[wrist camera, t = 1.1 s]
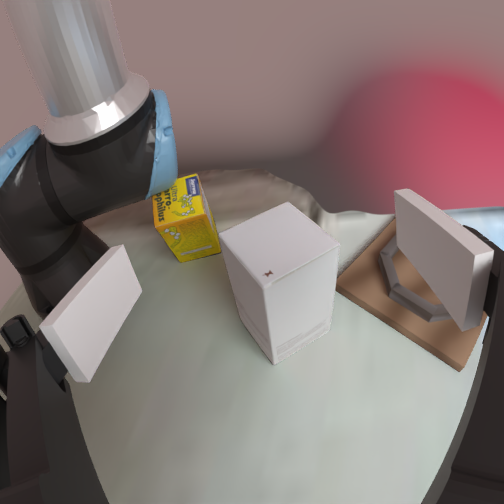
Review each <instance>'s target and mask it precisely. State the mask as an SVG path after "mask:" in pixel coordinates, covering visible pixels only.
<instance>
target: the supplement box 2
mask: <svg viewBox="0 0 504 504" xmlns="http://www.w3.org/2000/svg"><path fill="white" fill-rule="evenodd" d="M218 237H219V241H220V245H221V249H222V253H223V257H224V261H225V265H226V268H227V272H228V276H229V279H230V283H231V287H232V290H233V294H234V297H235V301H236V305H237V309H238V313H239V316H240V319H241V321H242V322H243V324H244V325H245V327H246V328H247V330H248V331H249V332H250V334H251V335H252V337H253V338H254V339H255V341H256V342H257V343H258V345H259V346H260V348H261V349H262V350H263V352H264V353H265V354H266V356H267V357H268V358H269V360H270V361H271V362H272V364H273V365H276V364H277V363H279V362H281V361H282V360H284V359H286V358H287V357H289V356H291V355H292V354H294V353H296V352H297V351H299V350H300V349H302V348H304V347H305V346H307V345H308V344H310V343H311V342H313V341H315V340H316V339H318V338H319V337H321V336H322V335H324V334H325V333H327V332H328V331H329V330H330V326H331V319H332V312H333V304H334V296H335V288H336V279H337V270H338V260H339V250H340V243H339V242H338V241H337V240H335V239H334V238H333V237H332V236H330V235H329V234H328V233H327V232H325V231H324V230H323V229H322V228H320V227H319V226H318V225H317V224H316V223H314V222H313V221H312V220H311V219H309V218H308V217H307V216H306V215H304V214H303V213H302V212H301V211H299V210H298V209H297V208H296V207H294V206H293V205H292V204H291V203H289V202H286V203H283V204H281V205H279V206H277V207H274V208H272V209H270V210H268V211H266V212H263V213H261V214H259V215H257V216H255V217H253V218H251V219H248V220H246V221H244V222H242V223H240V224H238V225H236V226H234V227H231V228H229V229H227V230H225V231H222V232H220V233H218Z"/></svg>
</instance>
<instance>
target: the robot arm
mask: <svg viewBox="0 0 504 504" xmlns="http://www.w3.org/2000/svg"><path fill="white" fill-rule="evenodd" d="M2 2H3V5H4V8H5V11H6V14H7V17H8V19H9V22H10V25H11V27H12V30H13V33H14V35H15V38H16V40H17V42H18V45H19V47H20V50H21V52H22V55H23V57H24V59H25V61H26V64H27V66H28V68H29V71H30V72H31V75H32V77H33V79H34V81H35V83H36V86H37V88H38V90H39V92H40V94H41V96H42V98H43V100H44V102H45V104H46V106H47V108H48V110H49V114H48V116H47V119H46V121H45V125H44V134H43V135H41V130H40V129H39V128H38V127H37V126H35V125H33V126H31V127H29V128H27V129H25V130H24V131H22V132H21V133H19V134H18V135H16V136H15V137H14V138H12V139H11V140H10V141H9V142H7V143H6V144H5V145H4V146H3V147H1V148H0V248H1V249H2V251H3V252H4V253H5V255H6V256H7V258H8V259H9V260H10V262H11V263H12V264H13V265H14V267H15V268H16V269H17V271H18V272H19V274H20V275H21V278H22V281H23V284H24V286H25V289H26V292H27V294H28V297H29V299H30V302H31V304H32V306H33V308H34V310H35V311H36V312H37V313H38V315H39V316H40V317H41V318H42V319H43V320H44V321H43V322H42V323H41V324H40V326H39V327H40V330H39V331H38V332H37V334H35V333H34V331H33V329H32V328H31V326H30V324H29V323H28V321H27V319H26V318H25V316H24V315H22V314H21V315H17V316H15V317H13V318H11V319H10V320H8V321H7V322H6V323H5V324H4V325H3V326H2V327H1V329H0V333H1V335H2V336H3V338H4V340H5V341H6V343H7V344H8V346H9V347H10V351H9V352H5V351H4V349H3V348H2V346H1V345H0V389H1V390H2V391H3V393H4V394H5V395H6V396H7V399H6V401H5V400H4V399H3V398H2V397H1V396H0V504H109V502H108V500H107V498H106V496H105V493H104V491H103V489H102V486H101V484H100V481H99V479H98V476H97V474H96V471H95V469H94V466H93V463H92V460H91V458H90V455H89V452H88V449H87V446H86V443H85V440H84V437H83V434H82V431H81V427H80V424H79V420H78V417H77V413H76V410H75V406H74V402H73V398H72V394H71V390H70V386H69V383H68V381H67V380H66V379H65V377H64V376H65V375H66V373H67V371H68V372H69V373H70V375H71V376H72V377H73V379H74V380H75V381H76V382H88V383H90V381H91V379H92V377H93V375H94V374H95V372H96V370H97V368H98V366H99V364H100V363H101V361H102V359H103V357H104V355H105V354H106V352H107V350H108V348H109V347H110V345H111V343H112V341H113V340H114V338H115V336H116V334H117V333H118V331H119V329H120V327H121V326H122V324H123V322H124V321H125V319H126V317H127V316H128V314H129V312H130V311H131V309H132V307H133V306H134V304H135V302H136V301H137V299H138V297H139V296H140V294H141V293H142V289H141V286H140V284H139V282H138V279H137V277H136V275H135V272H134V270H133V267H132V265H131V263H130V260H129V258H128V255H127V253H126V250H125V247H124V245H123V244H122V245H118V246H114V247H111V248H109V247H108V246H107V244H105V243H104V242H103V241H102V240H101V239H100V238H98V237H97V236H96V235H95V234H94V233H93V232H91V231H90V230H89V229H88V228H87V227H86V226H85V225H84V224H83V223H82V221H84V220H86V219H89V218H92V217H95V216H97V215H100V214H103V213H106V212H109V211H112V210H115V209H118V208H120V207H123V206H126V205H129V204H132V203H135V202H138V201H142V200H146V199H149V198H150V197H151V196H153V195H155V194H158V193H160V192H163V191H166V190H168V189H169V188H171V187H172V186H173V185H174V184H175V182H176V180H177V175H178V165H177V154H176V146H175V139H174V134H173V132H172V130H173V128H172V119H171V114H170V109H169V104H168V100H167V97H166V94H165V92H164V91H163V90H154V89H153V90H151V91H150V87H149V83H148V81H147V80H146V78H145V77H143V76H141V75H139V74H136V73H133V72H130V71H129V70H128V66H127V62H126V59H125V55H124V52H123V48H122V45H121V41H120V37H119V33H118V29H117V26H116V22H115V18H114V14H113V10H112V6H111V2H110V0H2ZM394 197H395V212H396V233H397V246H398V248H399V249H400V250H401V251H402V252H403V254H404V255H405V256H406V257H407V258H408V260H409V261H410V262H411V263H412V265H413V266H414V267H415V268H416V270H417V271H418V272H419V273H420V275H421V276H422V277H423V279H424V280H425V281H426V283H427V284H428V285H429V286H430V288H431V289H432V290H433V292H434V293H435V294H436V296H437V297H438V298H439V300H440V301H441V303H442V304H443V305H444V307H445V308H446V309H447V311H448V312H449V314H450V315H451V317H452V318H453V319H454V321H455V322H456V324H457V325H458V327H459V328H460V330H461V331H462V332H463V331H466V330H469V329H471V328H474V327H477V326H480V323H481V319H482V315H483V310H484V312H485V313H486V314H487V315H488V316H489V321H488V325H487V329H486V332H485V336H484V339H483V342H482V344H483V348H482V352H481V356H480V360H479V364H478V367H477V371H476V375H475V378H474V381H473V385H472V388H471V391H470V394H469V397H468V400H467V403H466V406H465V409H464V412H463V415H462V417H461V420H460V423H459V425H458V428H457V430H456V433H455V435H454V438H453V440H452V442H451V445H450V447H449V449H448V452H447V454H446V456H445V458H444V460H443V463H442V465H441V467H440V469H439V471H438V473H437V475H436V477H435V479H434V481H433V483H432V484H431V486H430V488H429V490H428V492H427V494H426V495H425V497H424V499H423V501H422V503H421V504H504V251H503V250H501V249H500V248H499V247H498V246H496V245H495V244H494V243H493V242H491V241H489V239H487V238H486V237H485V236H483V235H482V234H481V233H479V232H478V231H477V230H475V229H473V228H471V227H468V226H465V225H463V226H462V225H461V224H459V223H458V222H457V221H455V220H454V219H453V218H451V217H450V216H448V215H447V214H446V213H444V212H443V211H441V210H440V209H439V208H437V207H436V206H434V205H433V204H431V203H430V202H428V201H427V200H425V199H424V198H422V197H421V196H419V195H418V194H416V193H415V192H413V191H412V190H410V189H403V190H397V191H394Z"/></svg>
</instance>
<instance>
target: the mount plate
mask: <svg viewBox="0 0 504 504" xmlns="http://www.w3.org/2000/svg"><path fill="white" fill-rule="evenodd" d="M335 290H336V291H337V292H339V293H340V294H342V295H343V296H345V297H346V298H348V299H350V300H351V301H353V302H354V303H356V304H357V305H359V306H360V307H362V308H363V309H365V310H366V311H368V312H370V313H371V314H373V315H374V316H376V317H377V318H379V319H380V320H382V321H383V322H385V323H386V324H388V325H389V326H391V327H392V328H394V329H395V330H397V331H398V332H400V333H401V334H403V335H404V336H406V337H408V338H409V339H411V340H412V341H414V342H415V343H417V344H418V345H420V346H421V347H423V348H424V349H426V350H427V351H429V352H430V353H432V354H433V355H435V356H436V357H438V358H439V359H441V360H442V361H444V362H445V363H447V364H448V365H450V366H451V367H453V368H454V369H456V370H457V371H459V372H460V371H461V370H462V369H463V368H464V367H465V365H466V363H467V361H468V359H469V356H470V354H471V352H472V350H473V348H474V346H475V344H476V341H477V339H478V337H479V335H480V332H481V330H482V328H483V325H484V323H485V320H486V318H487V314H486V313H485V312H484V310H483V315H482V319H481V323H480V326H477V327H474V328H471V329H469V330H466V331H463V332H462V331H461V330H460V328H459V327H458V325H457V324H456V322H455V321H454V319H453V318H452V317H451V315H450V314H449V312H448V311H447V309H446V308H445V307H444V305H443V304H442V303H441V301H440V300H439V298H438V297H437V296H436V294H435V293H434V292H433V290H432V289H431V288H430V286H429V285H428V284H427V283H426V281H425V280H424V279H423V277H422V276H421V275H420V273H419V272H418V271H417V270H416V268H415V267H414V266H413V265H412V263H411V262H410V261H409V260H408V258H407V257H406V256H405V255H404V254H403V252H402V251H401V250H400V249H399V248H398V246H397V233H396V217H395V219H394V220H393V221H392V222H391V223H390V224H389V225H388V226H387V227H386V228H385V229H384V230H383V232H382V233H381V234H380V235H379V236H378V237H377V238H376V239H375V240H374V241H373V242H372V243H371V244H370V245H369V246H368V247H367V249H366V250H365V251H364V252H363V253H362V254H361V255H360V256H359V257H358V258H357V259H356V260H355V261H354V262H353V263H352V264H351V265H350V266H349V267H348V268H347V269H346V270H345V271H344V272H343V273H342V274H341V275H340V276H339V277H338V278H337V279H336V288H335Z"/></svg>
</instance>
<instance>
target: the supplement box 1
mask: <svg viewBox="0 0 504 504" xmlns="http://www.w3.org/2000/svg"><path fill="white" fill-rule="evenodd" d="M152 206H153V217H154V226H155V228H156V229H157V231H158V232H159V233H160V235H161V236H162V238H163V239H164V241H165V242H166V243H167V245H168V246H169V248H170V249H171V251H172V252H173V253H174V255H175V256H176V257H177V259H178V260H179V262H180V263H182V262H187V261H191V260H195V259H199V258H203V257H207V256H211V255H214V254H219V253H221V247H220V242H219V238H218V234H217V230H216V225H215V221H214V219H213V216H212V213H211V211H210V208H209V205H208V202H207V200H206V197H205V194H204V191H203V188H202V186H201V183H200V180H199V177H198V175H197V174H193V175H189V176H186V177H183V178H179V179H177V180H176V182H175V184H174V185H173V186H172V187H171V188H169V189H168V190H166V191H163V192H160V193H158V194H155V195H153V196H152Z"/></svg>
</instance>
